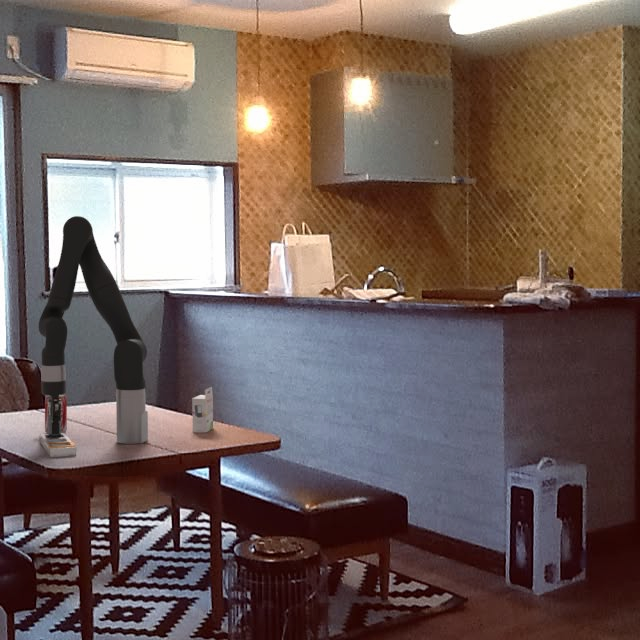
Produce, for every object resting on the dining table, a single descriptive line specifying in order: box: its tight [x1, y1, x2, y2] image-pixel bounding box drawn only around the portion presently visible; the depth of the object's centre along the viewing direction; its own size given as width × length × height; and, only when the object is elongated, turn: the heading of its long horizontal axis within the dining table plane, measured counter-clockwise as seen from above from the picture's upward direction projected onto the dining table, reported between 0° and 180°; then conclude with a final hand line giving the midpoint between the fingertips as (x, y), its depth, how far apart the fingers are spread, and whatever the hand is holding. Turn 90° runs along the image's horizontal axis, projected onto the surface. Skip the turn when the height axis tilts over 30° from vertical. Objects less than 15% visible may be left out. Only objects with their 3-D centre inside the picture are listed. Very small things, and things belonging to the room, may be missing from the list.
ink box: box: [191, 386, 214, 434], centre depth 343 cm, size 9×5×15 cm, turn 168°
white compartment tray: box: [39, 432, 77, 458], centre depth 311 cm, size 26×8×3 cm, turn 22°
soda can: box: [44, 394, 68, 434], centre depth 337 cm, size 7×7×13 cm
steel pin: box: [48, 414, 61, 438], centre depth 318 cm, size 4×4×9 cm
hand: (54, 432), depth 318 cm, fingers closed on steel pin, 4 cm apart
